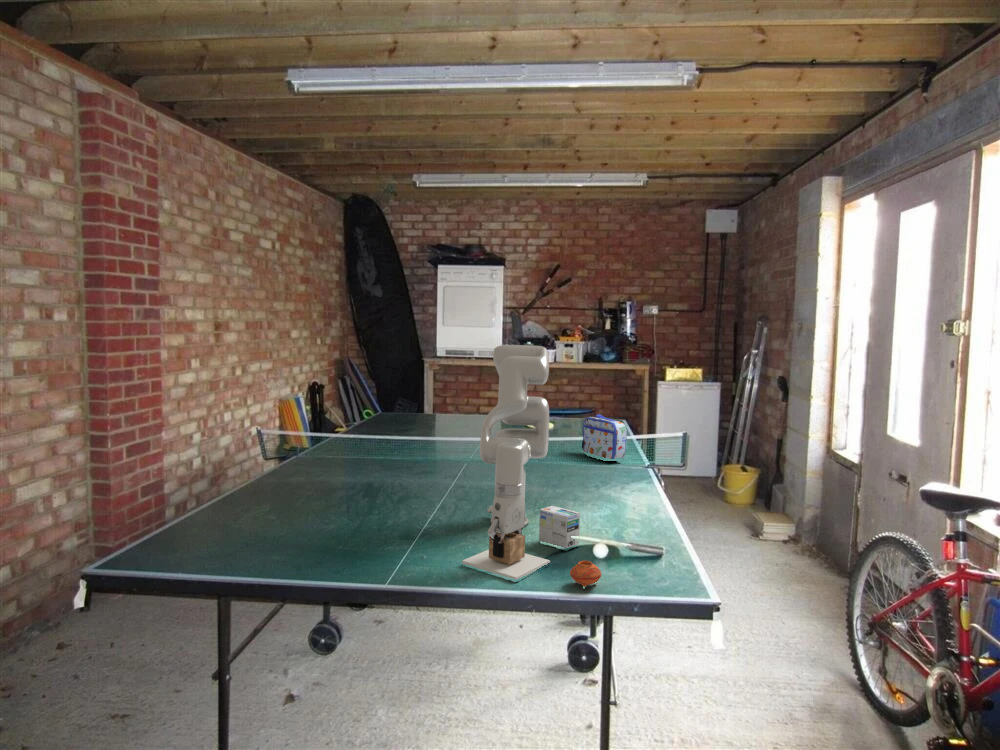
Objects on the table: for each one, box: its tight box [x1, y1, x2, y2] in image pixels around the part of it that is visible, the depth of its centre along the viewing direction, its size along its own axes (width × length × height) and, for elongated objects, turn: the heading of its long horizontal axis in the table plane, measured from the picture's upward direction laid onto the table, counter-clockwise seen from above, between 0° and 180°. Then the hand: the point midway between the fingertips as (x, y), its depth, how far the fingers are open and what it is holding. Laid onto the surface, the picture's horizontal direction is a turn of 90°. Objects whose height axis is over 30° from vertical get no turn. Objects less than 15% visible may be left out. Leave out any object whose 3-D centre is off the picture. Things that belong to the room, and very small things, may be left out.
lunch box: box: [581, 414, 628, 459], centre depth 325 cm, size 28×10×22 cm, turn 30°
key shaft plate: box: [461, 537, 551, 580], centre depth 177 cm, size 18×16×8 cm
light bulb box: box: [538, 505, 581, 548], centre depth 194 cm, size 11×7×11 cm, turn 48°
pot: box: [569, 560, 603, 587], centre depth 165 cm, size 8×8×7 cm
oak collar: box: [488, 532, 526, 564], centre depth 176 cm, size 7×7×6 cm
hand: (506, 552), depth 177 cm, fingers closed on oak collar, 7 cm apart
